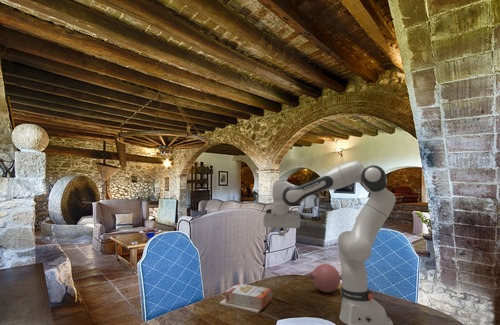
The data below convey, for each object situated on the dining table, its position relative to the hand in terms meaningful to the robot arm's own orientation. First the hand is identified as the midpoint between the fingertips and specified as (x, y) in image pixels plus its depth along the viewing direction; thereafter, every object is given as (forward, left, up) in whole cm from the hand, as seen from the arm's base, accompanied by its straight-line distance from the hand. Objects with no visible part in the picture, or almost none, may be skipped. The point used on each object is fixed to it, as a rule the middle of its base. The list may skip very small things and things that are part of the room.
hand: (281, 235), depth 151 cm
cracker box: (+4, +10, -30) cm, 32 cm away
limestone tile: (+17, +10, -34) cm, 39 cm away
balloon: (-16, -22, -34) cm, 44 cm away
